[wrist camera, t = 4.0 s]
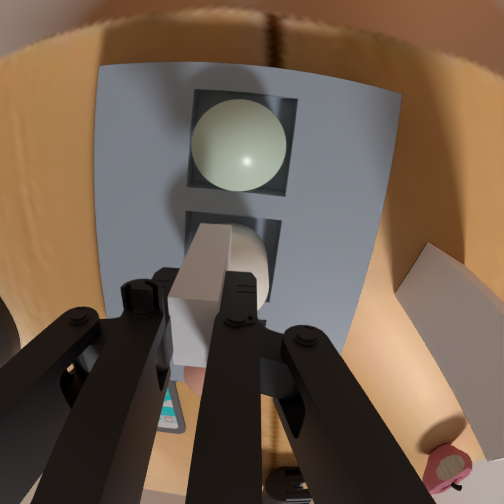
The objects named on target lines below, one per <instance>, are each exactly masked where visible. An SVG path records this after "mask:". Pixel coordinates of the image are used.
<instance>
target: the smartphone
mask: <svg viewBox="0 0 504 504" xmlns="http://www.w3.org/2000/svg"><path fill="white" fill-rule="evenodd" d="M176 382H177V381H173V380H169V384H168V388H167V392H166V395H165V399H164V403H163V407H162V411H161V415H160V419H159V423H158V427H157V431H159V432H168V433H177V434H181V433H184V432H185V428H186V426H185V421H184V417H183V413H182V409H181V405H180V401H179V397H178V393H177V388H176V384H175V383H176Z"/></svg>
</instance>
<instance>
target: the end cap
mask: <svg viewBox="0 0 504 504" xmlns="http://www.w3.org/2000/svg"><path fill="white" fill-rule="evenodd" d="M303 483H306V482H305V480H304V478H303V475H302V473H301V470H300V468H299V467H282V468H279V469H277V470H276V471H275V472H273V473H271V474H270V475H269V476H268V477H267V479H266V481H265V484H264V488H263V491H262V504H309V503H310V502H311V500H312V497H311V495H310V492H309V490H308V489H303V487H301V486H302V484H303Z"/></svg>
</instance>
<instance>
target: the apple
mask: <svg viewBox="0 0 504 504" xmlns="http://www.w3.org/2000/svg"><path fill="white" fill-rule="evenodd" d="M471 470H472V461H471V458H470V457H469V455H468V454H467V453H465V452H463V451H461V450H459V449H457V448H455V447H454V446H452V445H448V444H445V445H443V446H440V447H438V448H437V449H435V450H434V451H433V452H431V453H430V455H429V457H428V461H427V466H426V468H425V471H424V475H423V483H424V485H425V487H426V488H427V490H428V491H429V493H430V495H432V494H437V493H441V492H444V491H446V490H447V489H449V488H451V487H453V488H454V489H456V490H458V491H460V490H461V489H462V486H461V485H457V484H458V483H459V482H460V481H461V480H463V479H464V478H465V477H467V476H468V475H469V474H470V472H471Z"/></svg>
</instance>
